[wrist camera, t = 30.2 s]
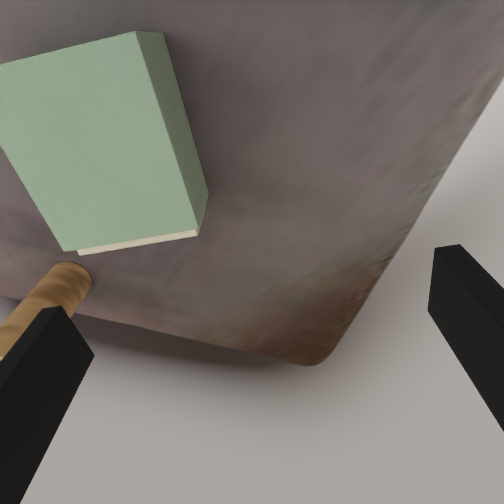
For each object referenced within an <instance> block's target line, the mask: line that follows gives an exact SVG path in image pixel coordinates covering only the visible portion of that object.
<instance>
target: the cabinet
mask: <svg viewBox="0 0 504 504" xmlns="http://www.w3.org/2000/svg"><path fill="white" fill-rule="evenodd" d="M0 145H1V147H2V149H3V150H4V152H5V154H6V156H7V157H8V159H9V161H10V162H11V164H12V166H13V167H14V169H15V171H16V172H17V174H18V176H19V177H20V179H21V181H22V182H23V184H24V186H25V187H26V189H27V191H28V192H29V194H30V196H31V197H32V199H33V201H34V202H35V204H36V206H37V207H38V209H39V211H40V212H41V214H42V216H43V217H44V219H45V221H46V222H47V224H48V226H49V228H50V229H51V231H52V233H53V234H54V236H55V238H56V239H57V241H58V243H59V244H60V246H61V248H62V249H63V251H64V252H67V251H73V250H79V249H85V248H90V247H96V246H102V245H108V244H114V243H119V242H125V241H131V240H137V239H142V238H148V237H154V236H160V235H166V234H171V233H177V232H183V231H189V230H194V229H199V227H200V223H201V220H202V216H203V213H204V209H205V206H206V203H207V199H208V196H209V192H208V188H207V185H206V181H205V178H204V174H203V171H202V167H201V164H200V160H199V157H198V153H197V150H196V146H195V143H194V139H193V136H192V132H191V129H190V125H189V122H188V118H187V115H186V111H185V108H184V104H183V101H182V97H181V94H180V90H179V87H178V83H177V80H176V76H175V73H174V69H173V66H172V62H171V59H170V55H169V52H168V48H167V45H166V41H165V38H164V34H163V32H148V31H132V32H127V33H123V34H119V35H115V36H111V37H107V38H103V39H99V40H95V41H91V42H87V43H83V44H79V45H75V46H71V47H67V48H63V49H59V50H55V51H51V52H47V53H43V54H39V55H35V56H31V57H27V58H23V59H18V60H14V61H10V62H6V63H2V64H0Z"/></svg>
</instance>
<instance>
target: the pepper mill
mask: <svg viewBox="0 0 504 504" xmlns="http://www.w3.org/2000/svg"><path fill="white" fill-rule="evenodd" d="M91 285H92V279H91V277H90V275H89V273H88V272H87V271H86V270H85V269H84V268H83V267H81V266H79V265H77V264H75V263H71V262H60V263H57V264H55V265H54V266H53V267H52V268H51V269H50V270H49V271H48V272H47V274H46V275H45V276H44V277H43V278H42V279H41V280H40V281H39V283H38V284H37V285H36V286H35V287H34V288H33V289H32V291H31V292H30V293H29V294H28V295H27V296H26V297H25V299H24V300H23V301H22V302H21V303H20V304H19V306H17V308H16V309H15V310H14V311H13V312H12V313H11V314H10V316H9V317H8V318H7V319H6V320H5V321H4V322H3V324H2V325H1V326H0V362H1V360H2V359H3V358H4V356H5V355H6V354H7V353H8V351H9V350H10V349H11V348H12V346H13V345H14V344H15V342H16V341H17V340H18V339H19V337H20V336H21V335H22V333H23V332H24V331H25V330H26V328H27V327H28V326H29V325H30V323H31V322H32V321H33V319H34V318H35V317H36V316H37V314H38V313H39V312H40V311H41V309H42V308H48V307H54V306H62V307H63V309H64V310H65V312H66V313H67V315H68V316H69V318H71V316H72V315H73V314H74V312H75V310H76V309H77V307H78V306H79V304H80V303H81V301H82V300H83V298H84V297H85V295H86V294H87V292H88V291H89V289H90V288H91Z"/></svg>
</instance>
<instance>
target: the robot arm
mask: <svg viewBox="0 0 504 504" xmlns="http://www.w3.org/2000/svg"><path fill="white" fill-rule="evenodd" d="M428 312H429V314H430V315H431V317H432V318H433V320H434V322H435V323H436V325H437V326H438V328H439V330H440V331H441V333H442V334H443V336H444V337H445V339H446V341H447V342H448V344H449V345H450V347H451V349H452V350H453V352H454V353H455V355H456V357H457V358H458V360H459V361H460V363H461V364H462V366H463V368H464V369H465V371H466V372H467V374H468V376H469V377H470V379H471V380H472V382H473V384H474V385H475V387H476V388H477V390H478V392H479V393H480V395H481V396H482V398H483V400H484V401H485V403H486V404H487V406H488V408H489V409H490V411H491V412H492V414H493V415H494V417H495V418H496V420H497V422H498V423H499V425H500V427H501V428H502V430H503V431H504V288H502V286H500V284H499V283H497V281H496V280H495V279H494V278H493V277H492V276H491V275H490V274H489V273H488V272H487V271H486V270H485V269H484V268H483V267H482V266H481V265H480V264H479V263H478V262H477V261H476V260H475V259H474V258H473V257H472V256H471V255H470V254H469V253H468V252H467V251H466V250H465V249H464V248H463V247H462V246H461V245H460V244H458V245H451V246H444V247H438V248H435V251H434V260H433V268H432V277H431V286H430V294H429V302H428ZM93 358H94V353H93V352H92V351H91V349H90V348H89V346H88V345H87V343H86V342H85V340H84V339H83V337H82V336H81V334H80V333H79V331H78V330H77V328H76V327H75V325H74V324H73V322H72V321H71V319H70V318H69V316H68V315H67V313H66V312H65V310H64V309H63V307H62V306H54V307H48V308H42V309H41V311H40V312H39V313H38V314H37V316H36V317H35V318H34V319H33V321H32V322H31V323H30V325H29V326H28V327H27V328H26V330H25V331H24V332H23V333H22V335H21V336H20V337H19V339H18V340H17V341H16V342H15V344H14V345H13V346H12V348H11V349H10V350H9V351H8V353H7V354H6V355H5V356H4V358H3V359H2V360H1V362H0V504H20V502H21V500H22V498H23V496H24V494H25V492H26V490H27V488H28V486H29V485H30V483H31V480H32V479H33V477H34V475H35V473H36V471H37V469H38V467H39V465H40V463H41V461H42V459H43V457H44V455H45V453H46V451H47V449H48V447H49V445H50V443H51V441H52V439H53V437H54V435H55V433H56V431H57V429H58V427H59V425H60V423H61V421H62V419H63V417H64V415H65V413H66V411H67V409H68V407H69V405H70V403H71V401H72V399H73V397H74V395H75V393H76V391H77V389H78V387H79V385H80V383H81V381H82V379H83V377H84V375H85V373H86V371H87V369H88V367H89V366H90V363H91V362H92V360H93Z"/></svg>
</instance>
